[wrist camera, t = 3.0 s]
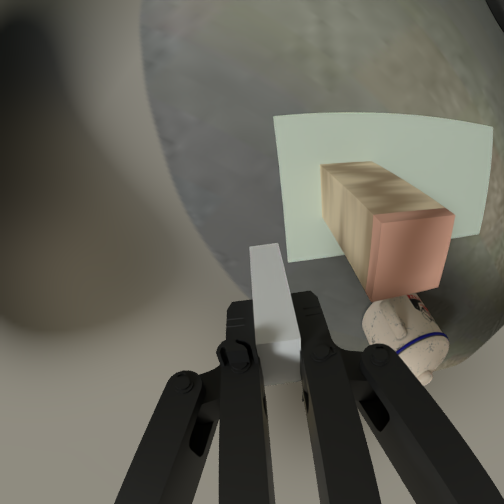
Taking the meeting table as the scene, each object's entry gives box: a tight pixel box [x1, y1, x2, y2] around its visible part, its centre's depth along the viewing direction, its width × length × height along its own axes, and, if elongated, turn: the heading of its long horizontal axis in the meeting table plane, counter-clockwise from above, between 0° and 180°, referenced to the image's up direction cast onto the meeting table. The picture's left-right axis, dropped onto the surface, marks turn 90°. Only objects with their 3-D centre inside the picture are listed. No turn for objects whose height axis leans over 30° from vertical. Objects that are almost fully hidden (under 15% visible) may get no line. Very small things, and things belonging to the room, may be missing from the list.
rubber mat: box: [273, 112, 493, 262], centre depth 23 cm, size 26×14×1 cm, turn 98°
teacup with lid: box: [362, 293, 449, 386], centre depth 27 cm, size 12×9×12 cm
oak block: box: [320, 161, 455, 302], centre depth 18 cm, size 5×5×12 cm
